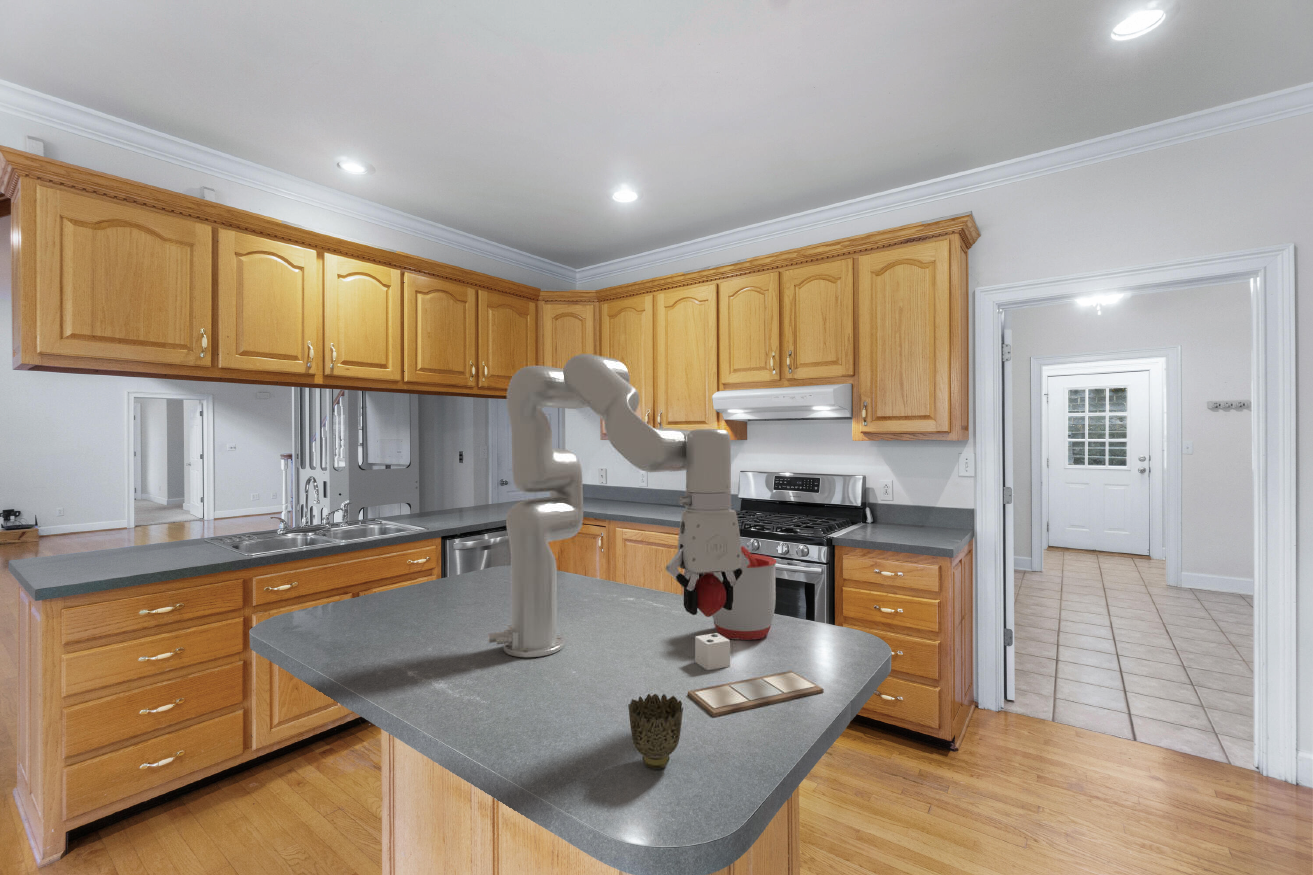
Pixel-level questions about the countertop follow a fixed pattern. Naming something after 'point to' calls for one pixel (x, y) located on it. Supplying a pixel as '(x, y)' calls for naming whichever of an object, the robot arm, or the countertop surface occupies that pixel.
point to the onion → (710, 594)
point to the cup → (655, 728)
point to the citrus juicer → (750, 601)
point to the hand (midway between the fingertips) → (708, 609)
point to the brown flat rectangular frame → (753, 692)
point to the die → (712, 651)
